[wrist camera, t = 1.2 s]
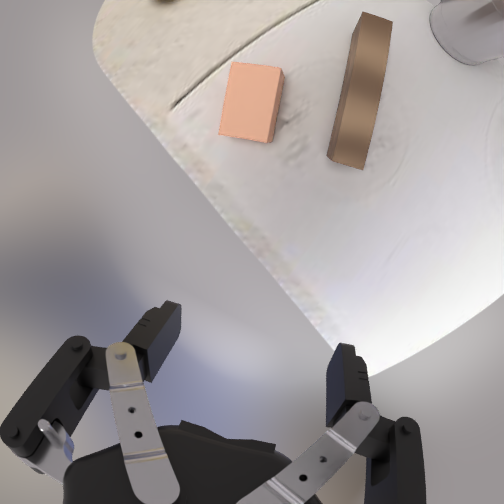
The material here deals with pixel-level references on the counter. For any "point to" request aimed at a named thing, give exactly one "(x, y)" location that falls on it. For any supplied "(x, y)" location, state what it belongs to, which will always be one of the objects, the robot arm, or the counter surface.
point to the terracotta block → (251, 102)
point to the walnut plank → (360, 91)
